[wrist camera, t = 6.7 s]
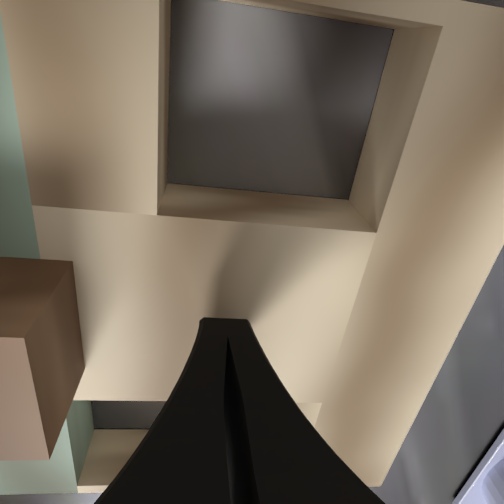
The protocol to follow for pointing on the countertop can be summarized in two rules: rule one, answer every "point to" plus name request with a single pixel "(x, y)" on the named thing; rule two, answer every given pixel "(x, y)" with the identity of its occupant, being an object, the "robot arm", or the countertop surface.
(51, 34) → the trap board
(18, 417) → the walnut block
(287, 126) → the countertop surface
